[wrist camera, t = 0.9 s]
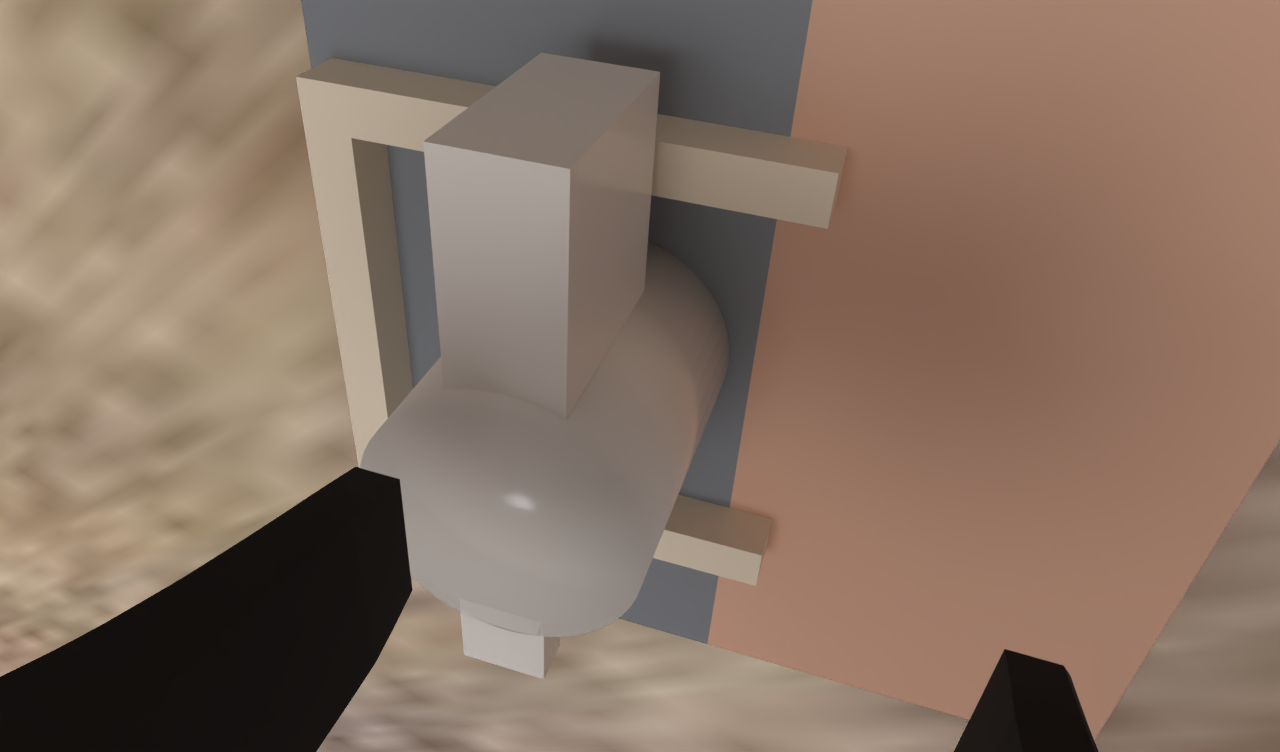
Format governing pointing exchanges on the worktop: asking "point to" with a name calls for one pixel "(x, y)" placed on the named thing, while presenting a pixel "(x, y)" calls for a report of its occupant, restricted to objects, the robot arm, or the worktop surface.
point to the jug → (550, 364)
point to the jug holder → (890, 302)
